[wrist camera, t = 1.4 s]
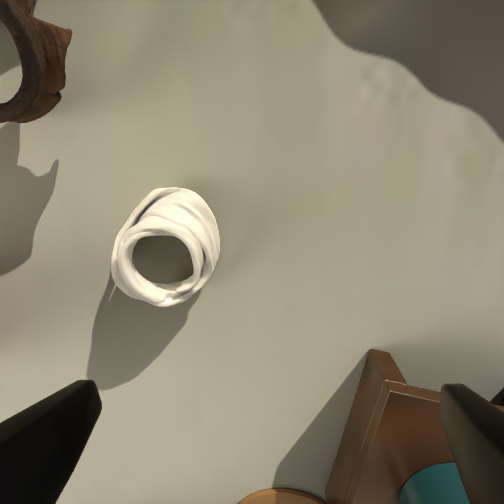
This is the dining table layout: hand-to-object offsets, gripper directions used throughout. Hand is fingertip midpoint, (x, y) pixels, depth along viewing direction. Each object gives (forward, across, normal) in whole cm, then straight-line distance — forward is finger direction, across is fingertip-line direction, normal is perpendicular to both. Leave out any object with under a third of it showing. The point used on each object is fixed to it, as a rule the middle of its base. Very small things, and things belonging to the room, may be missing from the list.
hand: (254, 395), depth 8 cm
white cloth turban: (+14, +7, 0) cm, 15 cm away
